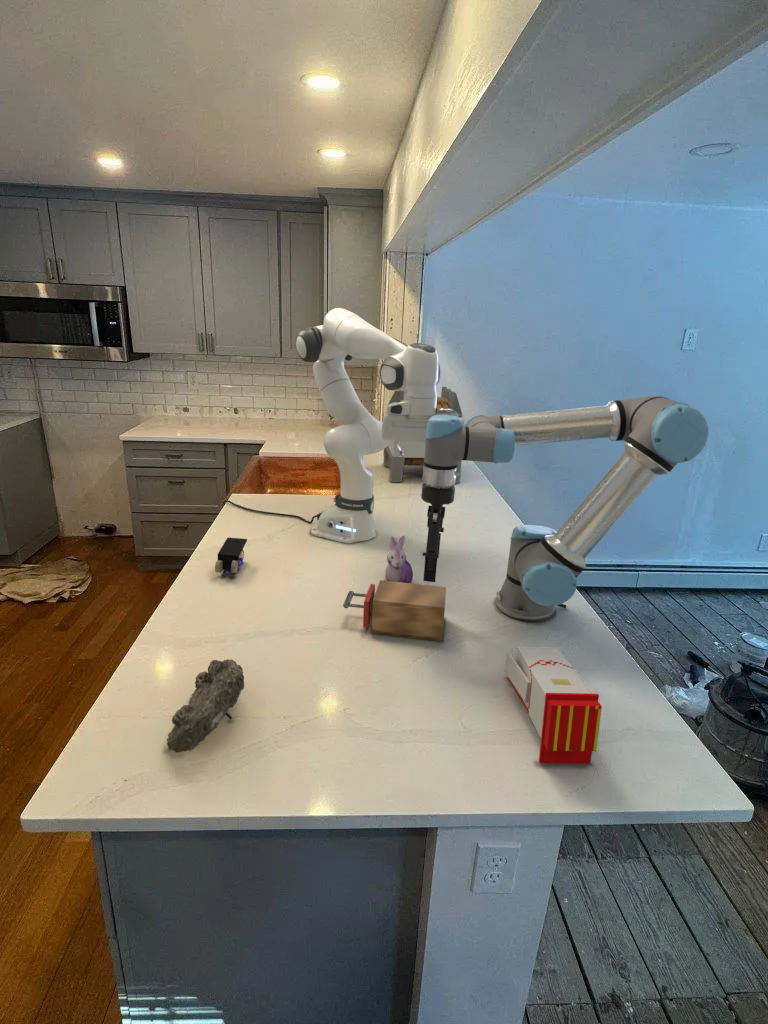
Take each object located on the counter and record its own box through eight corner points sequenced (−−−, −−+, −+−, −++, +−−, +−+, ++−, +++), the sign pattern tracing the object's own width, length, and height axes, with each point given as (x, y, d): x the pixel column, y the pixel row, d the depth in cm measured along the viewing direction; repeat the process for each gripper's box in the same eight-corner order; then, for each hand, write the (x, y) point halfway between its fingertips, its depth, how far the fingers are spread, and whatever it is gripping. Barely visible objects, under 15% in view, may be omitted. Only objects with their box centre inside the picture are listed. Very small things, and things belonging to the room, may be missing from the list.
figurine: (391, 596, 156) (394, 546, 151) (375, 580, 164) (377, 533, 159) (421, 590, 160) (424, 541, 155) (403, 575, 169) (406, 528, 163)
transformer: (382, 463, 289) (386, 382, 275) (445, 464, 293) (451, 384, 279) (390, 482, 257) (394, 392, 243) (460, 483, 261) (468, 394, 247)
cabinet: (371, 633, 138) (373, 600, 135) (378, 611, 148) (379, 580, 145) (441, 641, 136) (444, 607, 133) (443, 618, 146) (446, 587, 143)
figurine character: (238, 584, 162) (249, 557, 175) (236, 562, 158) (247, 536, 172) (215, 584, 161) (227, 556, 175) (212, 561, 158) (225, 535, 171)
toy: (554, 629, 125) (611, 701, 96) (548, 684, 128) (602, 772, 98) (500, 628, 125) (540, 700, 95) (495, 684, 127) (533, 771, 98)
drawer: (341, 624, 140) (341, 599, 137) (349, 605, 149) (349, 581, 146) (427, 634, 137) (429, 608, 135) (430, 614, 146) (432, 590, 143)
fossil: (192, 660, 117) (244, 628, 112) (224, 691, 120) (276, 661, 115) (142, 746, 98) (202, 712, 93) (182, 779, 101) (242, 748, 96)
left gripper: (459, 407, 153) (456, 457, 157) (384, 403, 156) (383, 452, 160) (458, 411, 147) (454, 462, 151) (380, 407, 150) (379, 458, 154)
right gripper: (453, 502, 117) (444, 594, 124) (456, 471, 140) (449, 549, 147) (417, 499, 118) (410, 590, 125) (426, 468, 141) (420, 546, 148)
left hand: (417, 457), depth 156 cm, fingers open, 8 cm apart
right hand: (431, 568), depth 136 cm, fingers open, 13 cm apart
